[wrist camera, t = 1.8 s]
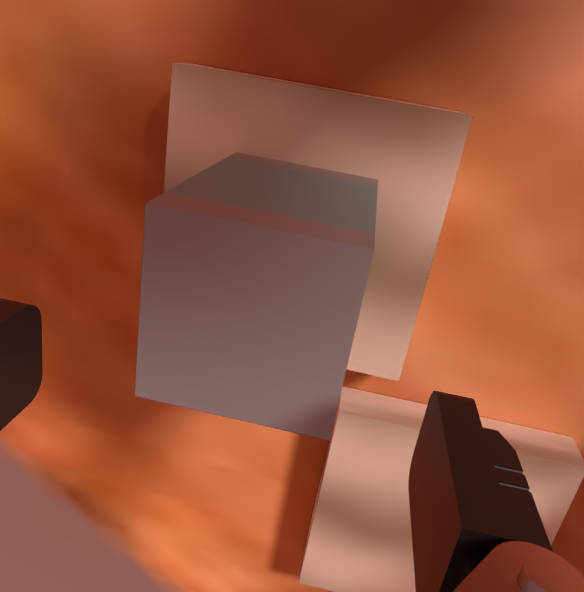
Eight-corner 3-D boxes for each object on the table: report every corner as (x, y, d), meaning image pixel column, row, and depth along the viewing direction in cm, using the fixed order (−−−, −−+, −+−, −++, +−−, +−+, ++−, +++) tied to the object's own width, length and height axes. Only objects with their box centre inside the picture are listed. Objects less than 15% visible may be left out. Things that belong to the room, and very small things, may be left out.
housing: (236, 152, 19) (145, 203, 12) (378, 179, 19) (374, 249, 12) (220, 283, 21) (134, 395, 14) (348, 310, 21) (330, 441, 14)
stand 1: (191, 63, 20) (172, 62, 18) (464, 112, 20) (472, 116, 18) (171, 307, 24) (154, 327, 22) (397, 356, 23) (398, 380, 22)
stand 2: (342, 385, 24) (338, 411, 23) (572, 436, 24) (587, 467, 22) (304, 549, 28) (298, 582, 27) (500, 597, 28) (508, 635, 26)
